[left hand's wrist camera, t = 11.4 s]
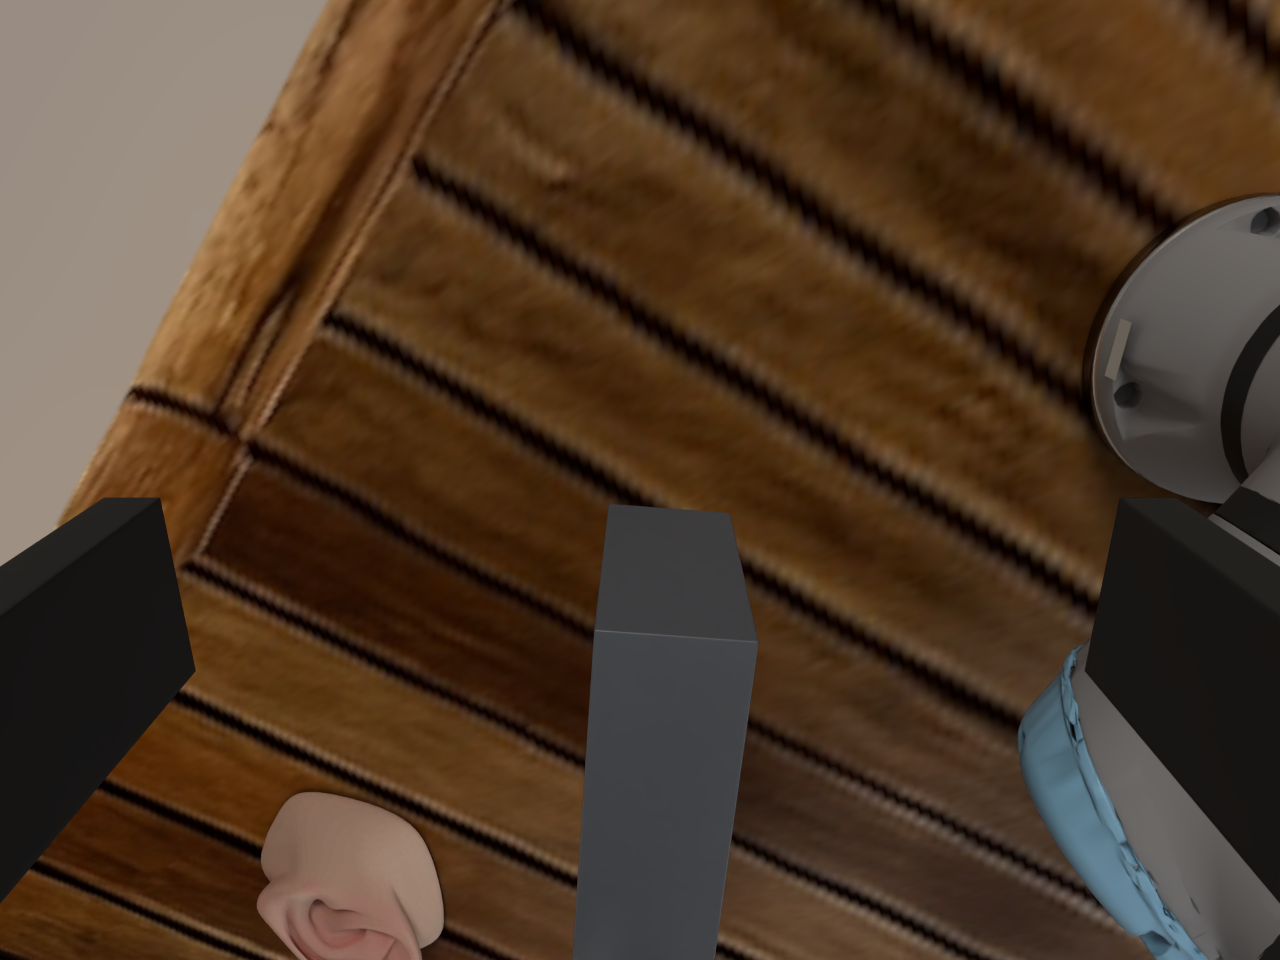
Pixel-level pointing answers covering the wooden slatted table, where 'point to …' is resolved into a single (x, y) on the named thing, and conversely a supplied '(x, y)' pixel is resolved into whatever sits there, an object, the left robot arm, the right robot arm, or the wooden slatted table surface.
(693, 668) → the bar
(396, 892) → the anatomical model
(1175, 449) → the left robot arm
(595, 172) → the wooden slatted table surface
